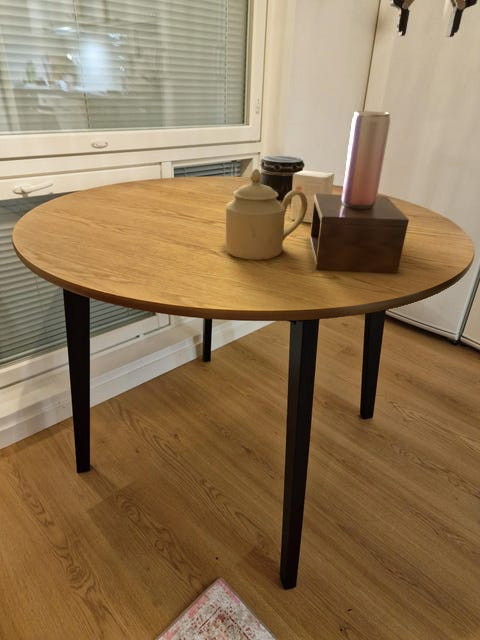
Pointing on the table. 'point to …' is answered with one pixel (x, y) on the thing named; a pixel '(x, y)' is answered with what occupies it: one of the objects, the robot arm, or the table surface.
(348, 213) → the open-ended wooden box
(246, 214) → the sugar bowl
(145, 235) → the table surface
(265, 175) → the container
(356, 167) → the beverage can
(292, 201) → the small box
